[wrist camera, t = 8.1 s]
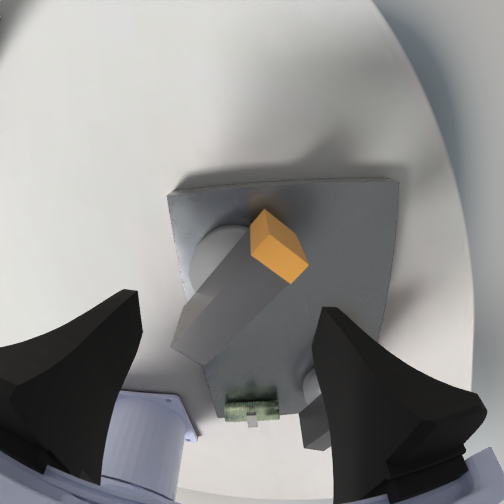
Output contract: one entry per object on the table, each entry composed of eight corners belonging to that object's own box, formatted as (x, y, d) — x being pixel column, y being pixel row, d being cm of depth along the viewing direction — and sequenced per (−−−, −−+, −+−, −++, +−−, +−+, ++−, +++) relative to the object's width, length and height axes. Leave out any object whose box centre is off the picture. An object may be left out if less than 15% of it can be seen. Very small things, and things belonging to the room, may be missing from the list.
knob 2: (326, 409, 21) (336, 453, 17) (283, 397, 20) (288, 446, 16) (383, 356, 18) (404, 402, 14) (340, 338, 17) (359, 389, 13)
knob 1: (231, 323, 17) (227, 378, 13) (168, 282, 16) (145, 332, 12) (310, 240, 15) (332, 283, 11) (242, 186, 14) (240, 211, 10)
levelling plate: (218, 406, 22) (216, 434, 19) (172, 190, 15) (156, 204, 12) (356, 393, 22) (365, 419, 19) (389, 178, 15) (415, 189, 12)
